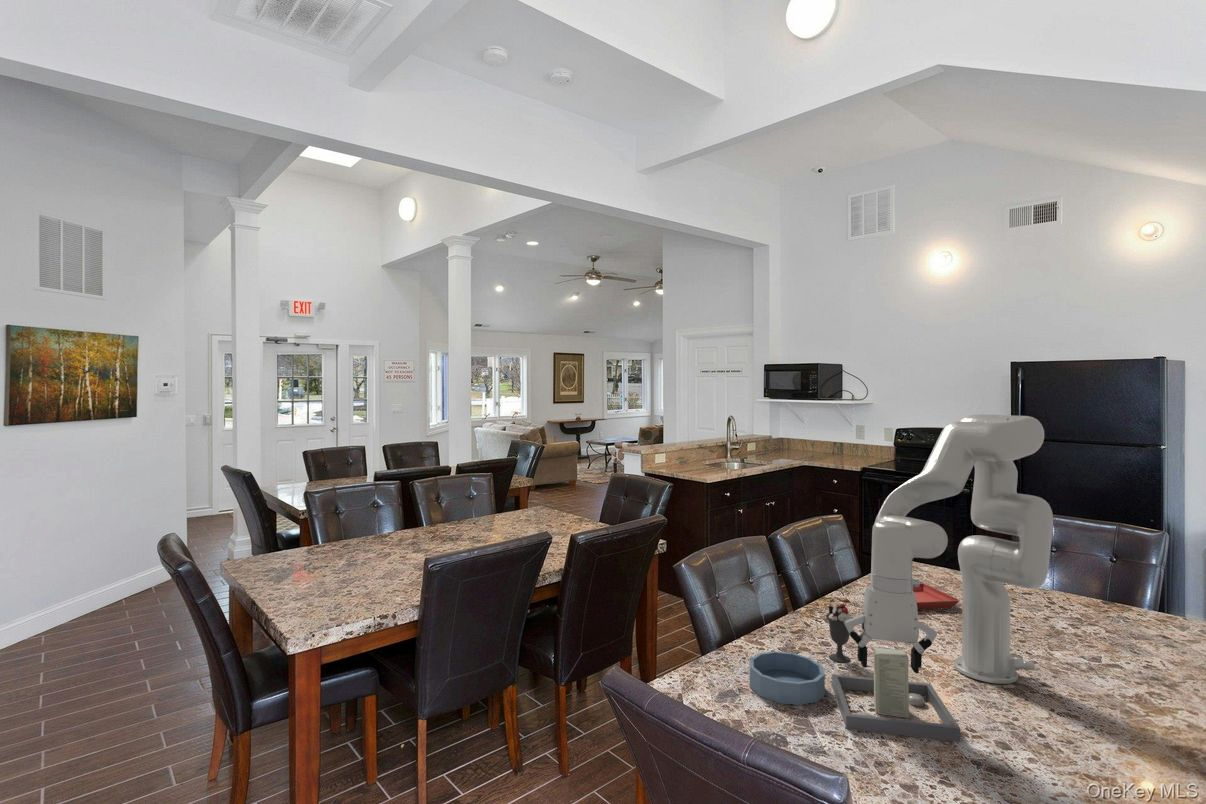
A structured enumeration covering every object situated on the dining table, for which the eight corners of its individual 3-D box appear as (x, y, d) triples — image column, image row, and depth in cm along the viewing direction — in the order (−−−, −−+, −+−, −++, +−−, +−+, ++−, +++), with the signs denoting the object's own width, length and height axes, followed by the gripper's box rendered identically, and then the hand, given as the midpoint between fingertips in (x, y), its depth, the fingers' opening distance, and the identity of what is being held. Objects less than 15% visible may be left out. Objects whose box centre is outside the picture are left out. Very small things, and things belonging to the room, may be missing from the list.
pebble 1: (871, 719, 121) (871, 712, 121) (875, 728, 118) (875, 721, 118) (854, 717, 121) (854, 710, 121) (857, 726, 118) (857, 719, 118)
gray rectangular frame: (930, 695, 130) (930, 683, 130) (960, 742, 113) (960, 728, 113) (831, 685, 134) (831, 674, 134) (846, 728, 117) (846, 715, 117)
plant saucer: (871, 593, 199) (871, 583, 199) (923, 592, 201) (923, 582, 201) (905, 613, 181) (905, 602, 181) (961, 611, 183) (961, 600, 183)
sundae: (857, 665, 144) (857, 603, 144) (827, 663, 146) (828, 601, 146) (851, 654, 151) (852, 594, 151) (823, 651, 152) (823, 592, 152)
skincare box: (905, 708, 125) (906, 649, 125) (909, 719, 120) (909, 658, 120) (872, 703, 127) (873, 645, 127) (874, 714, 122) (875, 654, 122)
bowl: (818, 674, 140) (818, 655, 140) (828, 708, 124) (828, 686, 124) (749, 667, 143) (749, 648, 143) (750, 700, 128) (750, 678, 128)
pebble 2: (921, 700, 128) (921, 694, 128) (925, 708, 125) (926, 701, 125) (905, 698, 129) (905, 692, 129) (909, 706, 126) (909, 699, 126)
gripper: (931, 582, 125) (929, 665, 125) (842, 574, 129) (840, 655, 129) (943, 593, 118) (941, 681, 118) (849, 584, 121) (846, 670, 121)
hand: (888, 667), depth 123 cm, fingers open, 9 cm apart
